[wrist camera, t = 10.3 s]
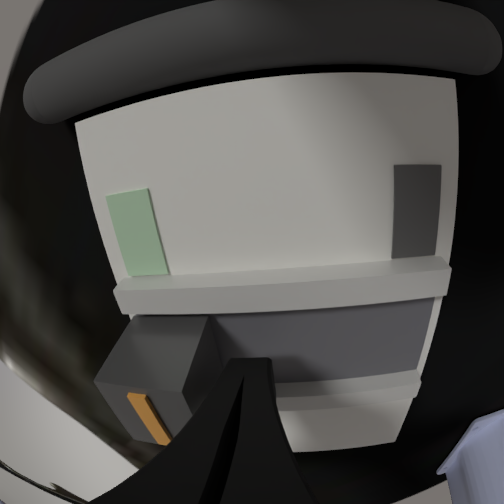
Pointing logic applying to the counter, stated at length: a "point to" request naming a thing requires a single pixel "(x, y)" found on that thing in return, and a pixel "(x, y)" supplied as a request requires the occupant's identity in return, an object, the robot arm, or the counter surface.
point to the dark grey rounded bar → (259, 47)
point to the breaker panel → (291, 232)
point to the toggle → (160, 374)
